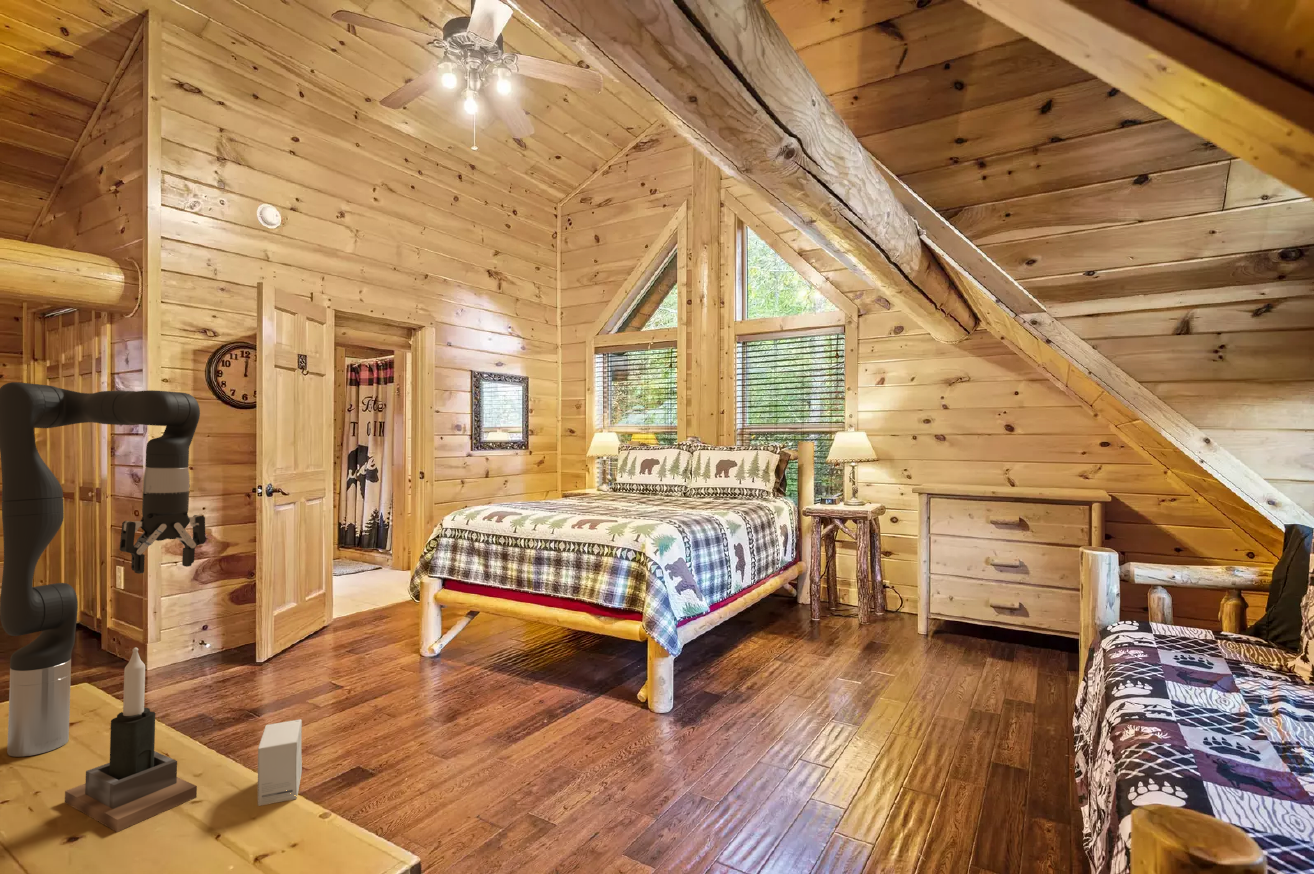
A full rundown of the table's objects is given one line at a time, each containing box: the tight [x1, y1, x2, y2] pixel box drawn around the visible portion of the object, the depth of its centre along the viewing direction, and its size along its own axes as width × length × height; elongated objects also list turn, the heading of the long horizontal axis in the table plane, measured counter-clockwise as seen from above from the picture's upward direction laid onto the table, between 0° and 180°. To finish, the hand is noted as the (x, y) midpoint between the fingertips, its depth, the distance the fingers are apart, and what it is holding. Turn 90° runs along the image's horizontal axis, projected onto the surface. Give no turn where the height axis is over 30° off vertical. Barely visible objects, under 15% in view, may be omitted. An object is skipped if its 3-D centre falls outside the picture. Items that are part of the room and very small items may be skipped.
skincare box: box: [257, 718, 303, 807], centre depth 121 cm, size 10×6×10 cm, turn 24°
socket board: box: [64, 750, 198, 833], centre depth 116 cm, size 18×12×6 cm, turn 63°
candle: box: [109, 647, 156, 780], centre depth 116 cm, size 5×5×25 cm
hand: (163, 569), depth 132 cm, fingers open, 8 cm apart
